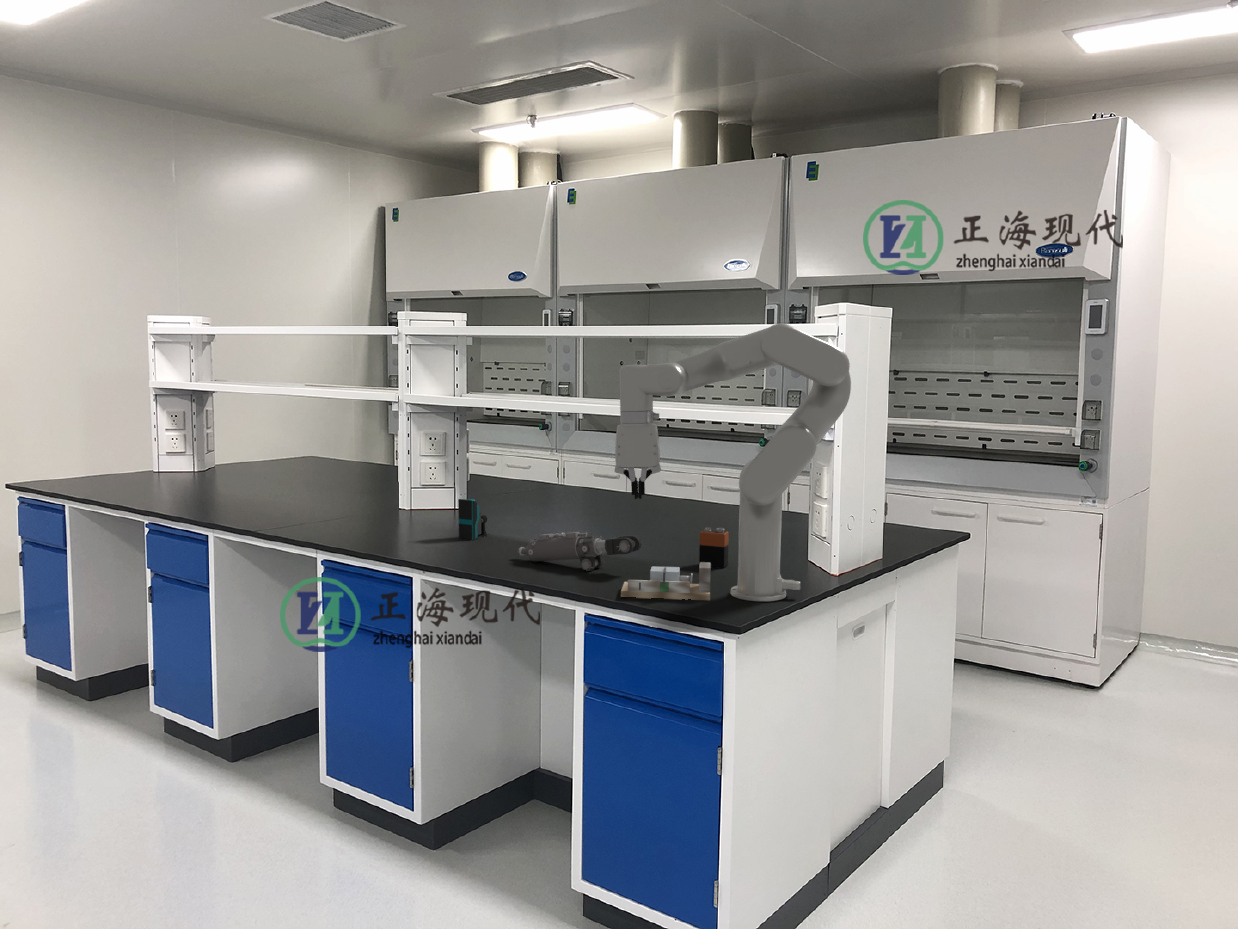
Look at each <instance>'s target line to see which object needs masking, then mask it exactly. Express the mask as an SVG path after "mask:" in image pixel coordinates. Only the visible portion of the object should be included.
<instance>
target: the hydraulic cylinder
mask: <svg viewBox="0 0 1238 929" xmlns="http://www.w3.org/2000/svg"><path fill="white" fill-rule="evenodd" d="M538 536H539V537H538V539H530V540H529V542H528V543H527V545H526V546H525V547H524V546H520V547H519V548H518V549H517V554H518V555H520V556H525V555H526V556H527V557H528V559H529V560H530V561H531V562H532V563H533V562H547V561H549V562H550V561H551V562H552V561H553V562H554V561H570V560H579V561H580V567H581V569H582V570H583V571H584V570H586V571H585V572H591V571H593V570H594V569H595V568H596V569H600V568H601V567H602V566H603V564H604V565H606V562H605V560H604V558H603V556H604V554H605V553H606V554H607V556H615V555H628V554H631V553H632V552H633V553H634V552H637V551H639V550H640V549H641V547H642V544H643V542H642V539H641V538H640V536H637V535H636V534H633V535H619V536H614V537H610V538H606V539H603V536H602V535H588V532H587V531H585V532H581V533H580V531H573V532H561V533H559V532H558V533H546V534H539V535H538Z"/></svg>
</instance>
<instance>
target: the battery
mask: <svg viewBox="0 0 1238 929" xmlns="http://www.w3.org/2000/svg"><path fill="white" fill-rule="evenodd" d="M729 534H730V533H729V531H726V530H725V528H723V527H717V528H715V529H711V527H705V528H704V530H702V531H700V532H699V546H698V547H699V548H698V549H699V552H698V554H699V556H698V560H699V561H698V562H699V563H698V566H700V562H708V563H711V568H717V569H723V568H725V567H727V566H728V564H729V543H730V542H729V540H730V539H729V538H730V536H729Z"/></svg>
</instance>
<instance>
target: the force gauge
mask: <svg viewBox="0 0 1238 929" xmlns="http://www.w3.org/2000/svg"><path fill="white" fill-rule="evenodd" d="M650 568H651V569H650V571H649V573H650V574H649V575H650V576H649V578H650V579H649V580H651V581H663V584H664V585H665V581H683V582H690V584H693V578H694V577H693V572H691V573H690V575H680V574H681V573H680V572H681V570H680V568H681V567H679V566H651V567H650Z"/></svg>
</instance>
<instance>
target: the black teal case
mask: <svg viewBox="0 0 1238 929" xmlns="http://www.w3.org/2000/svg"><path fill="white" fill-rule="evenodd" d="M457 502H458V503H457V504H458V506H457V508H458V540H463V541H470V540H473V541H475V540H476V539H477V538H478V537H479V536H483V537H482V538H485V537H487V536H486V535H487V534H488V533H487V530H486V523H487V522H488V517H487V516H486V515H485V514H482V512H481V511H480V505H479V504H478V503H479V501H478V499H473V498H468V499H467V498H466V499H465V498H458V501H457ZM477 535H478V536H477ZM484 536H485V537H484Z"/></svg>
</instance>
